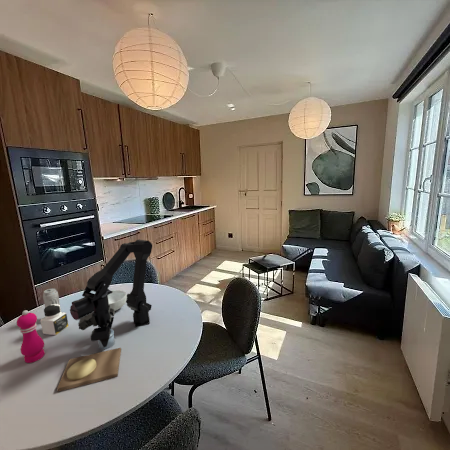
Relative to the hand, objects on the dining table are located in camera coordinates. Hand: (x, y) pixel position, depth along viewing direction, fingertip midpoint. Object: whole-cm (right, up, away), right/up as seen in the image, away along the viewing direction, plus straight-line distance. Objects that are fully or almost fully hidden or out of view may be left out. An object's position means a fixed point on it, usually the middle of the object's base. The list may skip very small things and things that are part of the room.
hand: (106, 341), depth 102 cm
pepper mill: (-25, -4, -5) cm, 26 cm away
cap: (0, -1, 0) cm, 1 cm away
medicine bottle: (-29, 0, +12) cm, 31 cm away
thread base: (+1, -4, -13) cm, 13 cm away
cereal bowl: (-11, +4, +29) cm, 31 cm away
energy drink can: (-36, +1, +22) cm, 43 cm away
